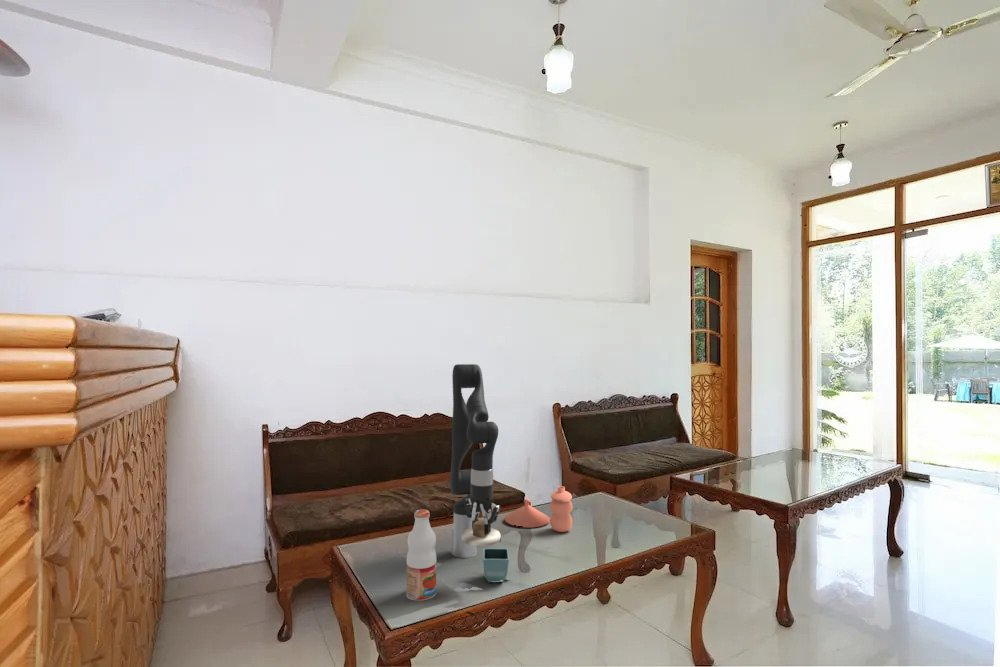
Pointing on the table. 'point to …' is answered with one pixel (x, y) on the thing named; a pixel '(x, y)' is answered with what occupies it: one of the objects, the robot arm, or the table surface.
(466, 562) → the table surface
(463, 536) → the lid
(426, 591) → the fruit juice
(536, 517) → the ceramic vessels
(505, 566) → the flower pot
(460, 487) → the robot arm
